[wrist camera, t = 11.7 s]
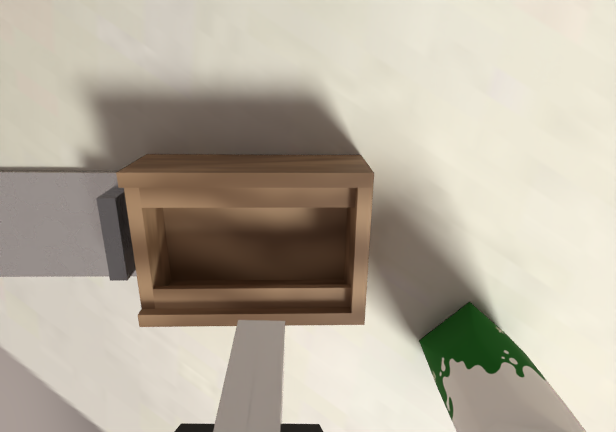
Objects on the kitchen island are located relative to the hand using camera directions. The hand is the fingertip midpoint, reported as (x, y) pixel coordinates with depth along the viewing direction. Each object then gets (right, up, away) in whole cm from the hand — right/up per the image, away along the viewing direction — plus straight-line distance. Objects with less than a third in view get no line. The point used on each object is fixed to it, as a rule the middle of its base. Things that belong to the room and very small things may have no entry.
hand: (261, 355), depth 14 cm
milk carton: (+19, -9, +33) cm, 39 cm away
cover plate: (-22, +4, +28) cm, 36 cm away
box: (-4, +4, +28) cm, 28 cm away
